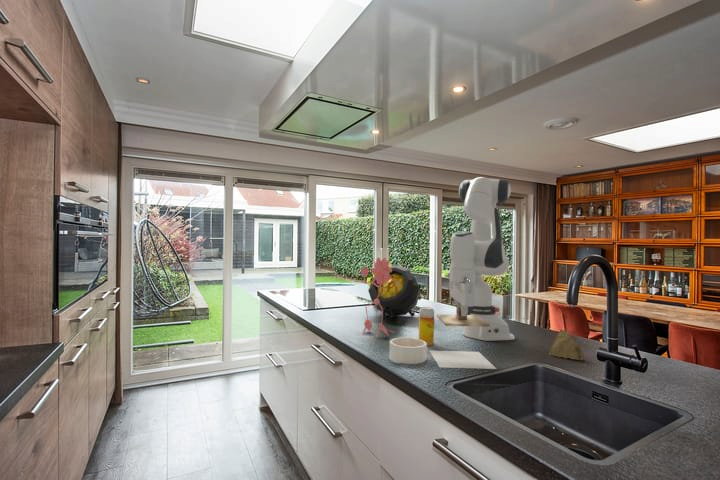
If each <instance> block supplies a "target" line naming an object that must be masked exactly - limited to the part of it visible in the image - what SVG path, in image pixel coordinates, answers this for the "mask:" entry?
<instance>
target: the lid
mask: <svg viewBox="0 0 720 480" xmlns="http://www.w3.org/2000/svg"><path fill="white" fill-rule="evenodd" d="M460 311H461V307H457V306H456V314H436V317H437V319H438V320H439V321H440V322H441V323H442V324H443V325H444V326H445V327H464V326H480V327H489V326H490V324H488V323H487V322H485V321H484V320H483V319H481V318H480V317H478V316H477V315H466V316H461V314H460Z"/></svg>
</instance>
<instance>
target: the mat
mask: <svg viewBox="0 0 720 480" xmlns="http://www.w3.org/2000/svg"><path fill="white" fill-rule="evenodd" d="M429 353H430V354H431V356H432V358H433V359H434V360H435V362H436V364H437V366H438V368H443V369H446V368H448V369H450V368H451V369H452V368H453V369H482V370H484V369H486V370H489V369H491V370H497V367H495V366H494V365H493V364H492V363H491V362H490V361H489V360H488V359H487V358H486V357H485V356H484V355H483V354H481V353H480V352H479V351H461V350H460V351H459V350H429Z"/></svg>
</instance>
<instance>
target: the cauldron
mask: <svg viewBox="0 0 720 480" xmlns="http://www.w3.org/2000/svg"><path fill="white" fill-rule="evenodd" d="M390 267H391V269H392V272H391V273H389V274H390V276H391V277H392V279H393V280H394V281H395V282H396V283H397V284H398V285H399V287H398V286H397V285H396V284H395V283H394V282H393V281H392V280H391V278H390V279H387V283H386V284H384V283H382V285H381V286H380V284H381V283H380V284H377V280H375V281H374V283H375V284H376V285H378V286H380V288H378V287H377V286H376V285H374V284H372V283H369V284H370V285H369V288H368V294H369V296H370V300H371V302H372V303H374V300H375V299H377V297H378V293H379V289H381V290H380V293H379V297H378V300H379V301H380V305H381V307H382V309H383V317H382V318H383V319H386V320H388V321H389V320H391V319H393V318H395V317H401V316H404V315H407V314H409V316H410V317H415V315H416V314H415V311H413V310H412V309H414V308H415V307H416V306H417V305H418V302H419V300H422V295H420V294H421V290H420V289H421V287H420V286H419V283H418V282H417V279H416V278H415V275H413V274H412V270H411V268H409V267H403V266H401V265H397V264H396V265H392V266H390ZM373 280H374V276H373V277H372V279H371V282H372V281H373ZM380 305H379V304H378V305H375V307H376V309H377V310H378V311H380V312H382V309H381V307H380Z"/></svg>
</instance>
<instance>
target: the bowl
mask: <svg viewBox="0 0 720 480" xmlns="http://www.w3.org/2000/svg"><path fill="white" fill-rule="evenodd" d="M388 350H389V355H388V356H389V360H390V361H391V362H392V363H394V364H399V365H400V364H405V365H406V364H407V365H409V364H412V365H417V364H421V363H424V362H425V361H427V353H428V345H427V343H426V342H425V341H423V340H420V339H419V338H414V337H396V338H392V339H390V340H389V349H388Z"/></svg>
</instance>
